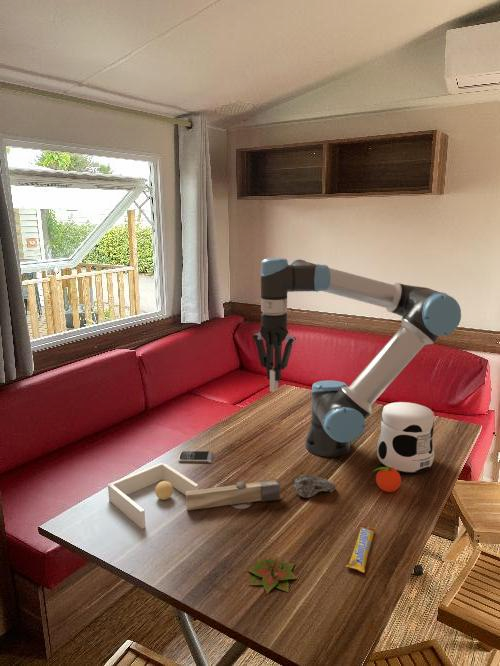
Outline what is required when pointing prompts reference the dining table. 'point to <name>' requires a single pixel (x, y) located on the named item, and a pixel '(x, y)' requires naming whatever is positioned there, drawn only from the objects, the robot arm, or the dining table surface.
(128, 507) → the frame
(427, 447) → the milk container
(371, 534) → the candy bar
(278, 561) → the lily flower
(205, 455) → the cell phone
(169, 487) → the ball
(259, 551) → the dining table surface
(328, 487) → the fossilized seashell
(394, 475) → the clementine
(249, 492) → the lever
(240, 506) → the pivot disc
